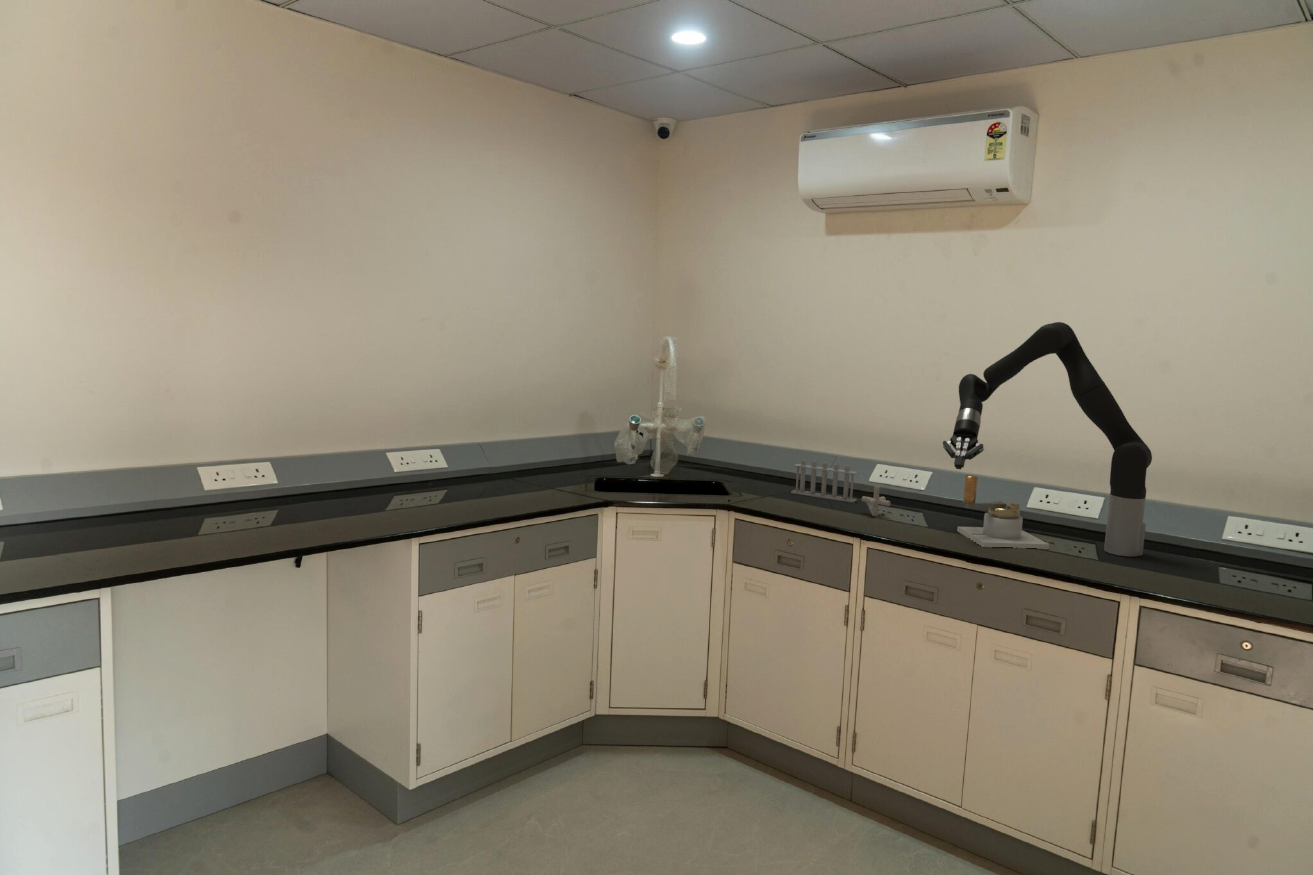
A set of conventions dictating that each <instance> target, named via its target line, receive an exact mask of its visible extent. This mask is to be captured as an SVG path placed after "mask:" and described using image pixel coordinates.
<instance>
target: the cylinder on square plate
mask: <svg viewBox="0 0 1313 875" xmlns="http://www.w3.org/2000/svg"><path fill="white" fill-rule="evenodd" d="M1023 519H1024V517H1022V516H1021V515H1020V516H1019V518H1013V519H1010V518H1000V517H994V516H991V515H989V514H988V512H985V513H984V516H983V526H981V527H980V526H957V529H956V530H957V532H958V533H959V534H961V535H962V536H964V537H965V538H967V539H969V538H970V539H969V540H971V541H972V540H973V541H972V542H974V543H975V542H976V543H975V544H977V545H978V544H979V546H980V545H981V546H980V547H982V548H992V547H1013V548H1012V549H1026V548H1037V549H1036V550H1049V548H1050V544H1049V543H1048V542H1046V541H1044V540H1042V539H1040V538H1039V537H1036V536H1035V535H1032V534H1030V533H1028V532H1026V531H1025V530H1023V522H1024V521H1023ZM1016 547H1017V548H1016Z"/></svg>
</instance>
